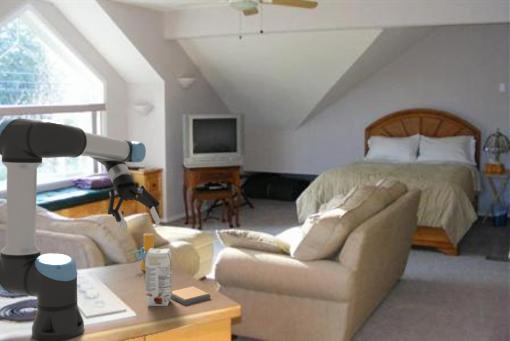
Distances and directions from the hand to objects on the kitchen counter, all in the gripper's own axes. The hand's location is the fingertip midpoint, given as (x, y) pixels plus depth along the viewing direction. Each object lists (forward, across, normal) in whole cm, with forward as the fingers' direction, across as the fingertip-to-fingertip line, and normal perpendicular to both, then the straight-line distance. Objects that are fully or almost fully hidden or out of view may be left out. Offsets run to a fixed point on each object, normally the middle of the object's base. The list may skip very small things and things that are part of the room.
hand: (142, 225), depth 214 cm
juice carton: (+27, +1, -9) cm, 28 cm away
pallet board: (+28, -11, -8) cm, 31 cm away
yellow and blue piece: (+1, -16, -36) cm, 39 cm away
